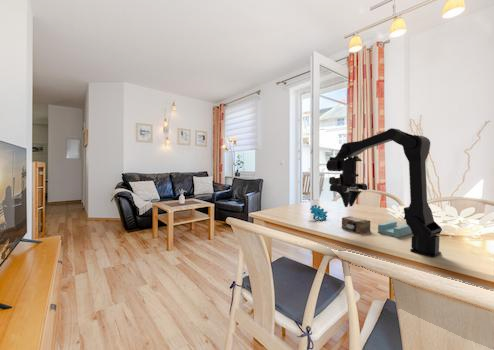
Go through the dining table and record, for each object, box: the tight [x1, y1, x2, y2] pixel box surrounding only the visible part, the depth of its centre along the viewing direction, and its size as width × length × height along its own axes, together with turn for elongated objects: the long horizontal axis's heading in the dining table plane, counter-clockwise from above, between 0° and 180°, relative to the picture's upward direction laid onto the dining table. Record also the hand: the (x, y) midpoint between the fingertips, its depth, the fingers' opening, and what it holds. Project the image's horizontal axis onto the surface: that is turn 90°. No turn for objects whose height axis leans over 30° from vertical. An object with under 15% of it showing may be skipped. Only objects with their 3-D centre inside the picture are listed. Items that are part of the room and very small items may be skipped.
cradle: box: [377, 220, 412, 238], centre depth 98 cm, size 8×12×4 cm, turn 120°
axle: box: [345, 223, 356, 232], centre depth 104 cm, size 12×3×3 cm, turn 120°
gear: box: [310, 204, 328, 222], centre depth 123 cm, size 11×6×10 cm
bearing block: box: [341, 215, 371, 234], centre depth 103 cm, size 10×6×5 cm, turn 30°
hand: (348, 206), depth 100 cm, fingers open, 3 cm apart
